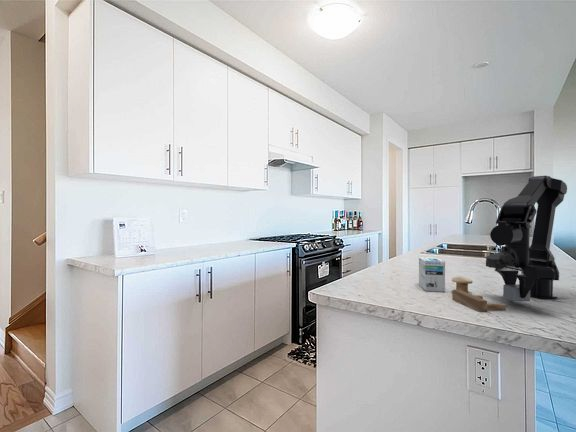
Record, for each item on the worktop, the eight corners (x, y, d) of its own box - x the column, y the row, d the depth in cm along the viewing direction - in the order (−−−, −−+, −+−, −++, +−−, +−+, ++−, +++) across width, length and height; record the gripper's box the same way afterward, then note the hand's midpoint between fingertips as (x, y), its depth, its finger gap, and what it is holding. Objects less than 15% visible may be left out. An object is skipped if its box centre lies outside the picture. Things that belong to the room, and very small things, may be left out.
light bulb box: (445, 292, 104) (445, 261, 104) (424, 291, 106) (424, 260, 106) (436, 285, 115) (437, 256, 115) (417, 284, 116) (418, 256, 116)
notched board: (477, 299, 96) (477, 289, 96) (507, 311, 84) (507, 300, 84) (452, 299, 96) (452, 290, 96) (478, 311, 84) (479, 301, 84)
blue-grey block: (518, 297, 93) (518, 284, 93) (530, 301, 89) (530, 287, 89) (503, 297, 93) (503, 284, 93) (513, 301, 89) (514, 287, 89)
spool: (464, 291, 106) (464, 277, 105) (476, 296, 100) (476, 281, 100) (448, 291, 105) (448, 277, 105) (459, 296, 99) (459, 281, 99)
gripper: (470, 240, 99) (469, 288, 100) (517, 247, 81) (516, 305, 81) (502, 240, 100) (502, 288, 100) (556, 247, 82) (555, 305, 82)
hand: (516, 295), depth 91 cm, fingers closed on blue-grey block, 4 cm apart
